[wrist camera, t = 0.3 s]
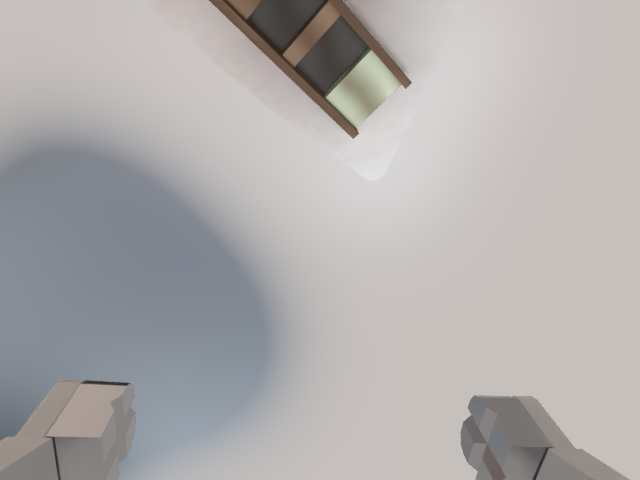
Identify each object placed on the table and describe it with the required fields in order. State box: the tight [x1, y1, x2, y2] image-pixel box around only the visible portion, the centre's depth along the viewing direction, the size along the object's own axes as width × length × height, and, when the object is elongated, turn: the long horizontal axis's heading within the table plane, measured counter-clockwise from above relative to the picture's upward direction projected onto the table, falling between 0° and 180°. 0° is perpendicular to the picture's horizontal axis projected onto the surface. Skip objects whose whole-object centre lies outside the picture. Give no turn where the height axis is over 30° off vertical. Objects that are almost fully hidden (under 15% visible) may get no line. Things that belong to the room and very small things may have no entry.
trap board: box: [209, 0, 412, 139], centre depth 49 cm, size 10×28×4 cm, turn 45°
